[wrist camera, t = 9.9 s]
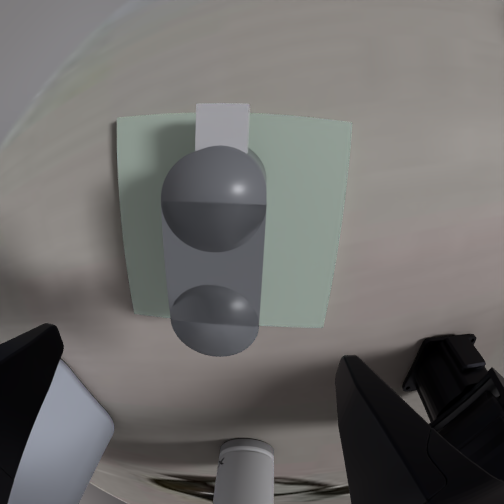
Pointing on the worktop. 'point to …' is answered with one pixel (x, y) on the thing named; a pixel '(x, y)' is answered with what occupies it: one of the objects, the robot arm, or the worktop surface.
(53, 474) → the plastic bottle
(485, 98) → the worktop surface
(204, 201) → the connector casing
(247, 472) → the travel mug
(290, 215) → the sage board
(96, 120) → the worktop surface
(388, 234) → the worktop surface
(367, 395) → the robot arm
